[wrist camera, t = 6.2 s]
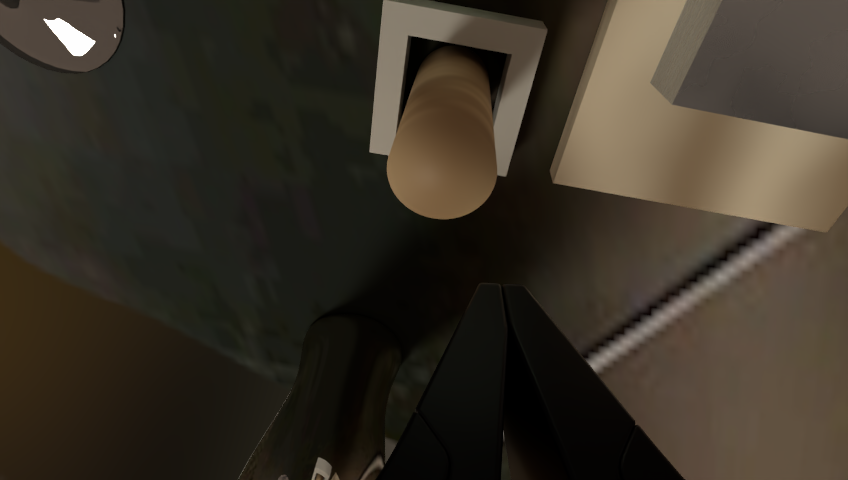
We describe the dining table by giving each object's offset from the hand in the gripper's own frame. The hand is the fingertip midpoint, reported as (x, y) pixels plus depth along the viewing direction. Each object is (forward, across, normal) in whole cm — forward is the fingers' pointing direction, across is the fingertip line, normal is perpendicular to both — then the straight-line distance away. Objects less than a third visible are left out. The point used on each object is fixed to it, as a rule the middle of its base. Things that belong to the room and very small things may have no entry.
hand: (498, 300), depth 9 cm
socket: (+13, +1, 0) cm, 13 cm away
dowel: (+13, +1, 0) cm, 13 cm away
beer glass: (+13, +6, +16) cm, 22 cm away
